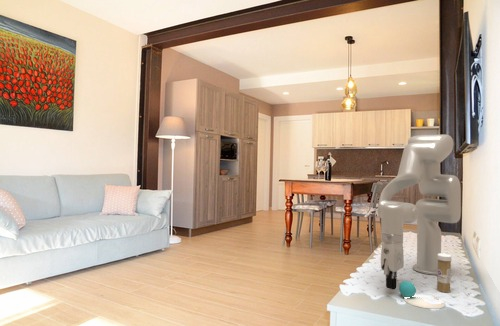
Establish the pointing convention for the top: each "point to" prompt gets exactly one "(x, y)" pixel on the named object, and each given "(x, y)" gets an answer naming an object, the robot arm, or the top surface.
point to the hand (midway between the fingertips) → (391, 288)
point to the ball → (407, 289)
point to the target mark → (423, 303)
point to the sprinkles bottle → (444, 272)
